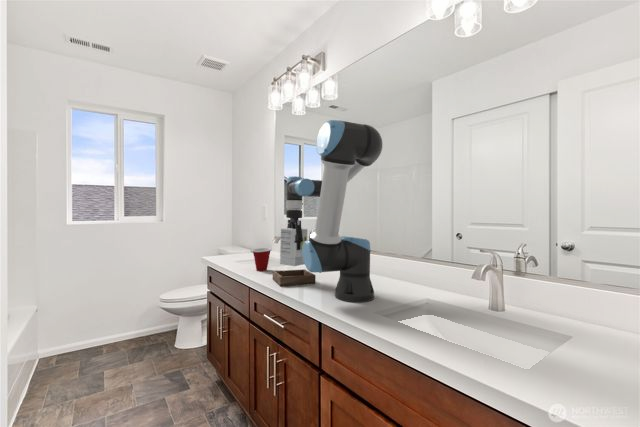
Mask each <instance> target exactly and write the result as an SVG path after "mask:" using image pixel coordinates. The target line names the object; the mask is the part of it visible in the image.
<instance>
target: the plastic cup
mask: <svg viewBox="0 0 640 427" xmlns="http://www.w3.org/2000/svg"><path fill="white" fill-rule="evenodd" d="M271 251H272V248H270V247H263V248H262V247H261V248H255V249H252V250H251V252H252V253H253V258H254V263H255V270H256V272H266V271H267V270H268V266H269V261H270V254H271Z"/></svg>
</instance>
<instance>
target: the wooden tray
mask: <svg viewBox="0 0 640 427" xmlns="http://www.w3.org/2000/svg"><path fill="white" fill-rule="evenodd" d="M272 280H273V281H274V282H275V283H276V285H278V286H279V287H281V288H282V287H289V286H290V287H291V286H294V287H295V286H303V285H316V274H314V273H313V272H310V271H309V270H308V269H305V268H304V269H287V270H286V269H285V270H273V271H272Z"/></svg>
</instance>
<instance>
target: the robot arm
mask: <svg viewBox="0 0 640 427" xmlns="http://www.w3.org/2000/svg"><path fill="white" fill-rule="evenodd" d="M315 144H316V145H315V146H316V152H317V154H318V155H319V156H320V162H321V163H322V164H323V173H322V179H321V180H320V179H310V178H303V177H302V176H288V177H287V178H286V184H285V185H286V200H285V201H286V205H285V207H286V213H285V214H286V215H285V216H286V218H287V228H291V229H296V235H295V241H294V243H295V257H301V242H303V237H302V229H303V228H302V220H300V219H302V218H303V210H302V209H303V206H304V202H303V197H313V198H317V197H318V198H319V200H318V206H317V212H316V213H317V215H316V221H315V226H314V227H315V228H314V231H312V232H311V233H309V234H310V235H309V239H307V241H305V242H304V243H303V246H302V255H303V260H304V266H305V268H306V270H307V271H309V272H311V273H319V274H322V273H329V272H330V273H331V272H339V278H338V281H337V284H336V287H335V289H334V290H335V291H334V296H335V298H336V299H338V300H341V301H343V302H344V301H346V302H351V303H353V302H354V303H355V302H356V303H361V302H362V303H363V302H365V303H366V302H369V301H372V300H374V299H375V289H374V287H373V283H372V280H371V243H370V240H368V239H365V238H359V237H351V236H344V235H341V236H340V235H339V232H340V227H341V221H342V215H343V208H344V204H345V196H346V191H347V185H348V183H349V182H350V181H351V180H352V179H353V178H354V177H355V176H357V174H358V173H360V172H361V171H362V170H363V169H365V167H366V168H367V167H370V166H371V165H373V164H375V162H376V161H377V160H378V159H379V157H380V156H381V154H382V151H383V145H384V144H383V139H382V136H381V133H380V132H379V131H378V130H377V129H376V128H375V127H373V126H372V125H370V124H362V123H356V122H349V121H347V120H341V119H340V120H337V119H334V120H333V119H329V120H327V121H325V122H324V123H323V125H322V126H321V128H320V129H319V131H318V134H317V139H316V143H315ZM287 228H286V229H287Z"/></svg>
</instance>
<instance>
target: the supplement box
mask: <svg viewBox="0 0 640 427" xmlns="http://www.w3.org/2000/svg"><path fill="white" fill-rule="evenodd" d="M295 235H296V229H291V228H280V248H279V249H280V250H279V254H280V255H279V256H280V257H279V264H280V265H283V266H289V267H291V266H292V267H297V266H302V265H304V266H305V264H304V260H303V255H302V246H303V243H304V242H305V241H307V240H308V228H302V237H303V242H301V257H295V243H294V241H295Z"/></svg>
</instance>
